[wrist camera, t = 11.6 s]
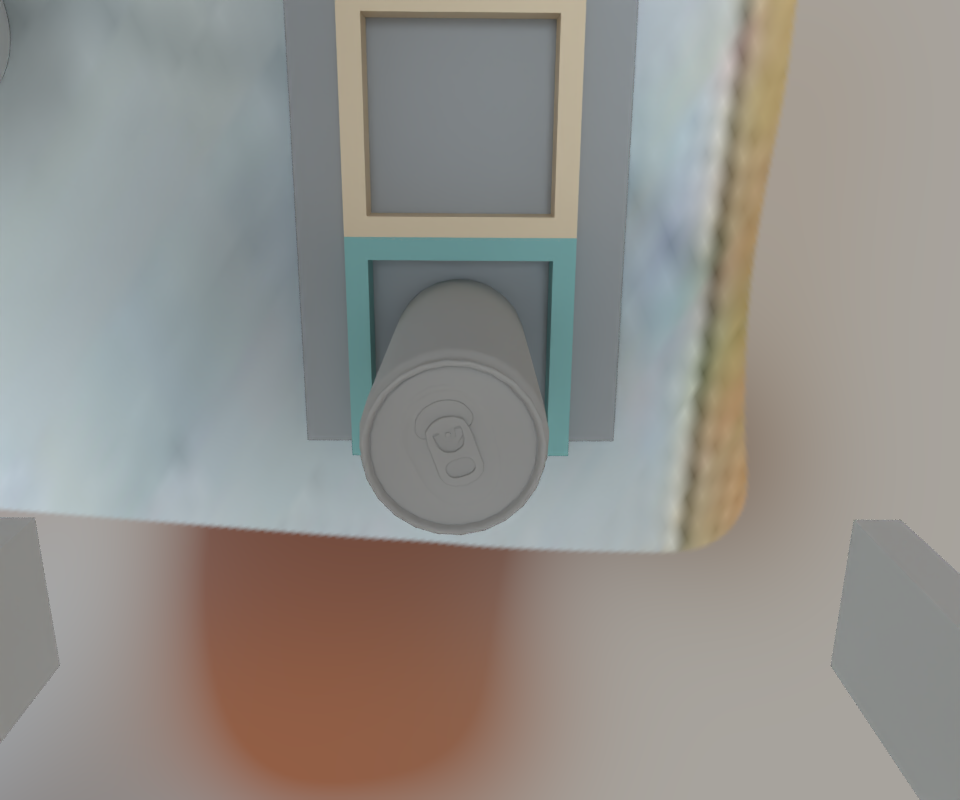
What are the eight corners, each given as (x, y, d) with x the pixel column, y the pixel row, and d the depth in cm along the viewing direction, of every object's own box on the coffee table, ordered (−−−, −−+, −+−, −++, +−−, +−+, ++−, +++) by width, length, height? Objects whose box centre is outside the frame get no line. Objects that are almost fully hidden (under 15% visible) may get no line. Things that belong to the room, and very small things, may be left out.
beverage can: (499, 258, 31) (515, 326, 20) (540, 377, 33) (578, 506, 21) (377, 301, 32) (323, 393, 20) (422, 417, 33) (396, 564, 21)
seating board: (289, -5, 29) (272, -18, 27) (633, -2, 30) (647, -14, 27) (312, 432, 34) (300, 455, 32) (609, 434, 34) (619, 455, 32)
